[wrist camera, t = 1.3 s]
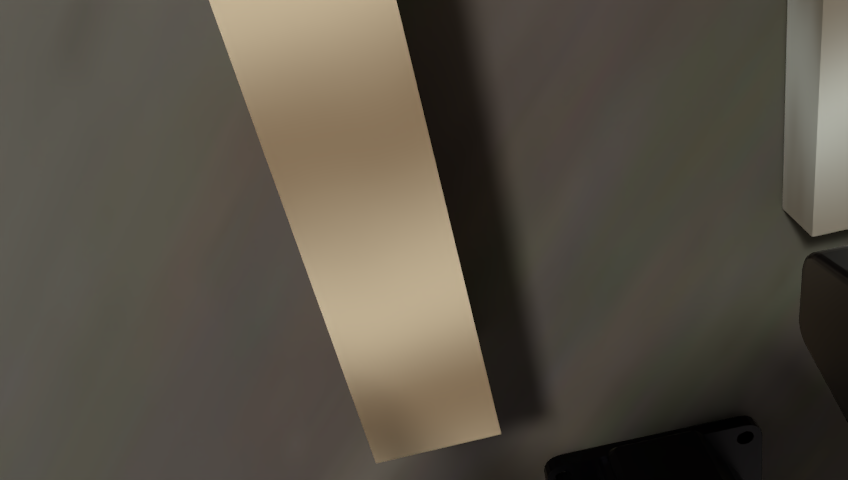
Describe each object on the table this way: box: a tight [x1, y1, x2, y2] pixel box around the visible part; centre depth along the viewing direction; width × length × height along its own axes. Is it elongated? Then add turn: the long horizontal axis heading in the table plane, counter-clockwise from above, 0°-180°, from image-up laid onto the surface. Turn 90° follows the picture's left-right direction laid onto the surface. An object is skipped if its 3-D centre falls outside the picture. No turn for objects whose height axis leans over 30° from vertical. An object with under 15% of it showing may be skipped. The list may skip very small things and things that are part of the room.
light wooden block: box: [209, 0, 501, 463], centre depth 16 cm, size 16×3×4 cm, turn 13°
